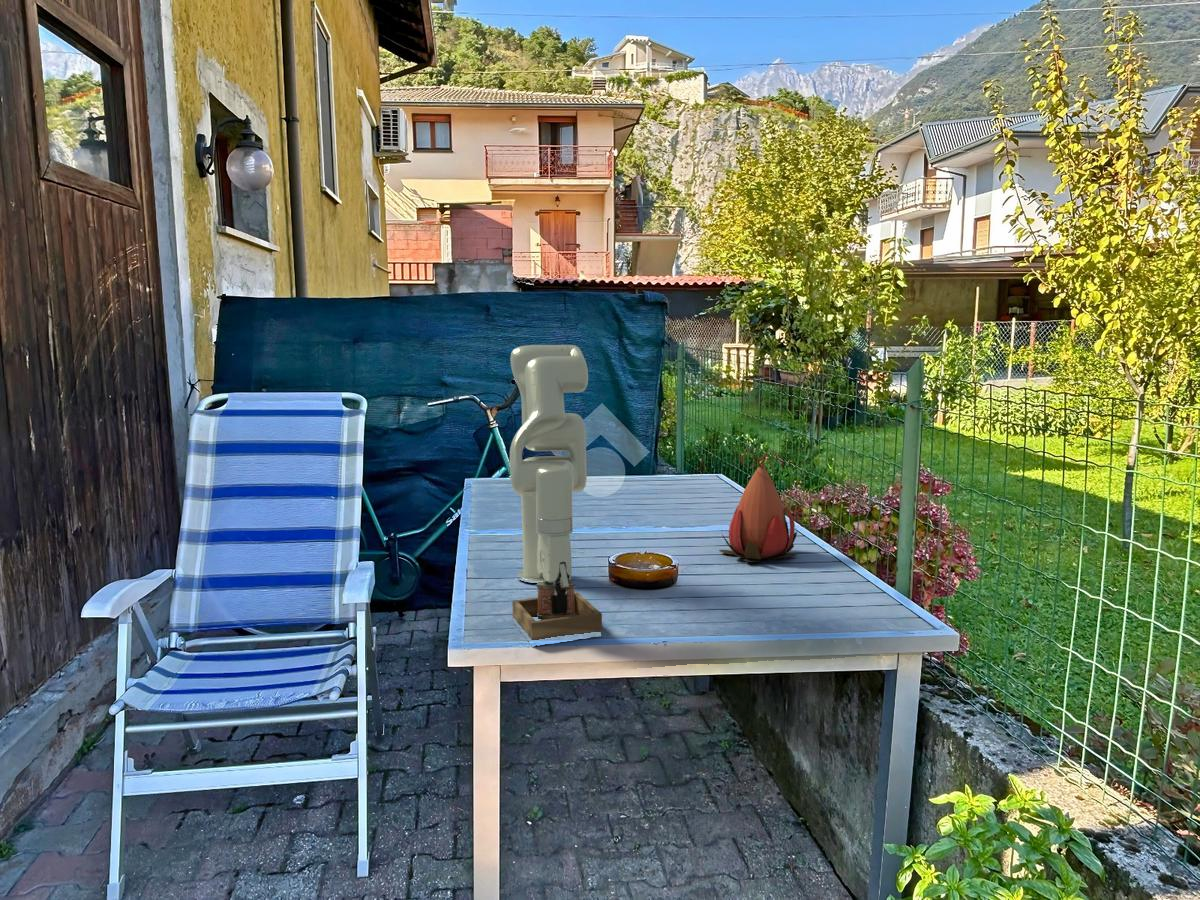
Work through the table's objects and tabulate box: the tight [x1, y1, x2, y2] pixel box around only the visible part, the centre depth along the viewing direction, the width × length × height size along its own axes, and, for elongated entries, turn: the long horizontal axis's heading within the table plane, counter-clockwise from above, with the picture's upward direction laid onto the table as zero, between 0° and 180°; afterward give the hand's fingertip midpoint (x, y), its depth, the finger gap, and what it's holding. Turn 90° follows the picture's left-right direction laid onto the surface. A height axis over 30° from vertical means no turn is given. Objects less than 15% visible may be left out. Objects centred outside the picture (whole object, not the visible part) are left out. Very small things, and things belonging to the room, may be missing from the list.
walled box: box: [512, 592, 603, 640], centre depth 169 cm, size 15×15×5 cm
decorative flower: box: [718, 449, 798, 563], centre depth 223 cm, size 22×23×30 cm
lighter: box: [536, 573, 576, 620], centre depth 168 cm, size 8×3×10 cm, turn 92°
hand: (556, 608), depth 169 cm, fingers closed on lighter, 4 cm apart
